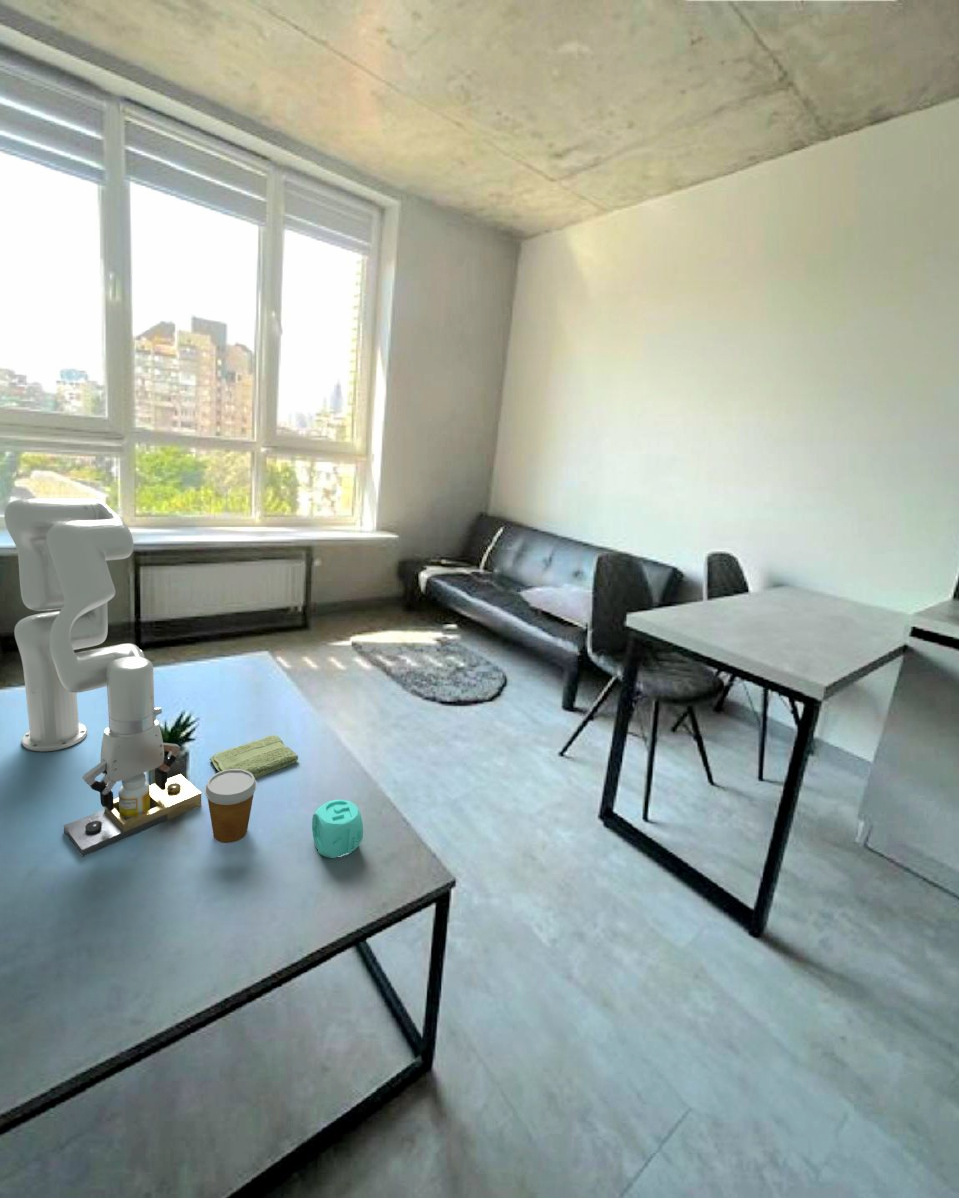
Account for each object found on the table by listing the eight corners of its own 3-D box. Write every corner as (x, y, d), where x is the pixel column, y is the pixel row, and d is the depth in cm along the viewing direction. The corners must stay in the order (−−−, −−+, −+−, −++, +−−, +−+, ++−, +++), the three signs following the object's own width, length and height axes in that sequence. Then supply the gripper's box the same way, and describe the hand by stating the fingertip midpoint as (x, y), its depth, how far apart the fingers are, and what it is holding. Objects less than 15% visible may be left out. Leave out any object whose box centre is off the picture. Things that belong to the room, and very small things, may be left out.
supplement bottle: (125, 831, 112) (123, 788, 109) (115, 817, 115) (113, 776, 112) (155, 819, 116) (153, 778, 113) (144, 806, 119) (142, 766, 116)
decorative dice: (322, 863, 110) (324, 828, 108) (310, 837, 117) (312, 804, 115) (361, 852, 115) (364, 818, 112) (348, 827, 121) (351, 795, 119)
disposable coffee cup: (265, 826, 118) (267, 776, 115) (232, 855, 109) (233, 802, 106) (228, 811, 121) (229, 762, 117) (193, 839, 112) (192, 786, 109)
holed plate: (64, 832, 109) (62, 814, 108) (180, 786, 126) (180, 770, 125) (82, 856, 104) (81, 838, 103) (201, 805, 121) (201, 789, 120)
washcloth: (206, 762, 137) (206, 751, 136) (276, 741, 149) (276, 730, 148) (229, 790, 128) (229, 777, 127) (301, 765, 141) (301, 754, 140)
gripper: (169, 700, 118) (170, 772, 123) (72, 727, 105) (78, 806, 109) (187, 714, 114) (188, 788, 119) (88, 743, 100) (94, 825, 105)
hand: (135, 796), depth 114 cm, fingers open, 9 cm apart
